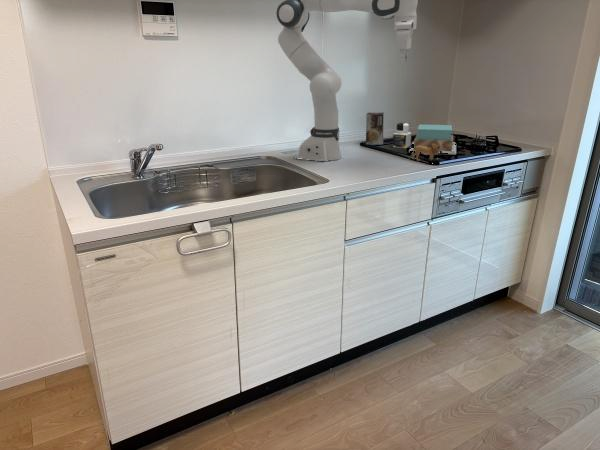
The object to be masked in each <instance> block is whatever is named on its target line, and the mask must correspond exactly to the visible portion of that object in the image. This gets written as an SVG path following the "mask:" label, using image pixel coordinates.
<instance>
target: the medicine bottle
mask: <svg viewBox="0 0 600 450" xmlns="http://www.w3.org/2000/svg"><path fill="white" fill-rule="evenodd" d="M409 128H410V125H409V123H406V122H399V123H397V124H396V132H393V135H392V147H393V148H397V149H407V148H410V147H411V145H412V143H411V142H412V132H411V131H409V130H410V129H409Z"/></svg>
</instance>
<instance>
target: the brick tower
mask: <svg viewBox="0 0 600 450" xmlns="http://www.w3.org/2000/svg"><path fill="white" fill-rule="evenodd" d="M416 131H417V133H416V135H415V138H414V140H413V141H412V143H411V145H412V144H414V148H415V147H416V146H419V145H420V146H424V147H427V146H429V145H431V144H433V143H435V142H436V141H440V142H442V150H441V151H442V153H448V154H447V155H457V144H456V142H455V141H454V134H452V133H453V132H452V131H453V124H452V125H451V124H418V127H417V130H416ZM455 144H456V145H455ZM410 148H411V147H410ZM410 148H409V150H408V153H410V151H413V149H414V148H411V149H410ZM414 151H415V150H414Z"/></svg>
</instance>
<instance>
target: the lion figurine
mask: <svg viewBox="0 0 600 450" xmlns="http://www.w3.org/2000/svg"><path fill="white" fill-rule="evenodd" d="M414 150H415V153H414ZM441 150H442V142H440V141H436V142H435V143H433V144H431V145H429V146H427V147H424V146H420V145H419V146H416V147H415V148H414V149H413V152H412V153H411V155H410V157H408V160H410V159H412V160H415V159H416V161H417V162H420V161H421V159H420V158H419V156H420V154H422V155H425V156H428V155H429V160H430V159H431V160H434V156H436V155H439V154H438V153H439V152H440V151H441ZM420 152H421V153H420ZM431 160H430V161H431Z"/></svg>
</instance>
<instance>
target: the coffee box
mask: <svg viewBox="0 0 600 450" xmlns="http://www.w3.org/2000/svg"><path fill="white" fill-rule="evenodd" d="M365 117H366V121H365V123H366V126H365V127H366V128H365V144H366V143H373V144H372V145H383V144H384V127H385V123H384V121H385V120H384V119H385V112H367V113H366V115H365Z"/></svg>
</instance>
